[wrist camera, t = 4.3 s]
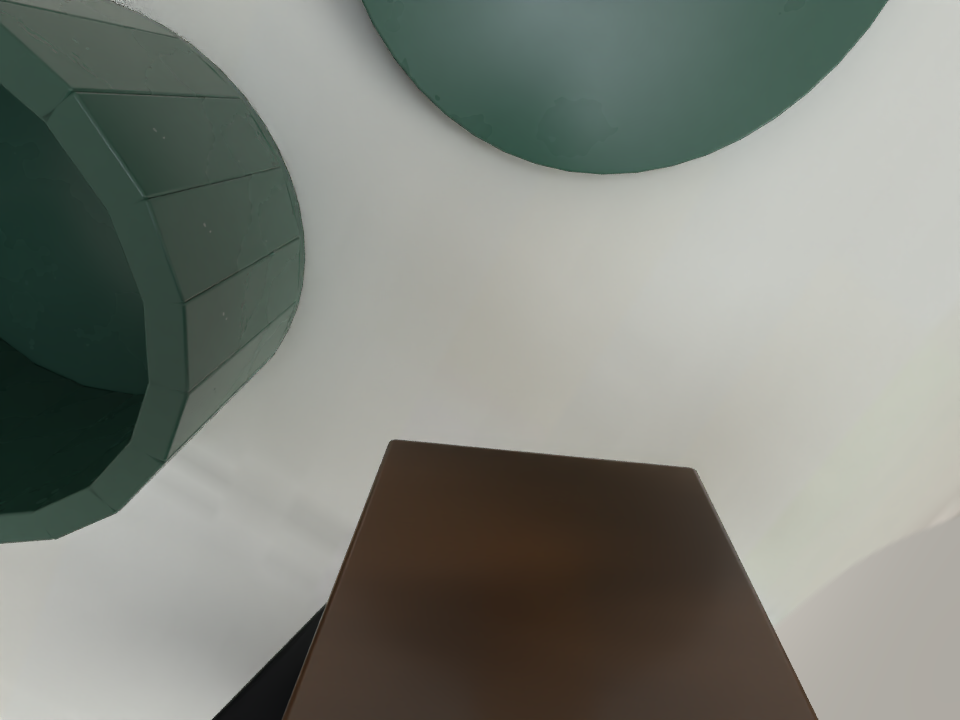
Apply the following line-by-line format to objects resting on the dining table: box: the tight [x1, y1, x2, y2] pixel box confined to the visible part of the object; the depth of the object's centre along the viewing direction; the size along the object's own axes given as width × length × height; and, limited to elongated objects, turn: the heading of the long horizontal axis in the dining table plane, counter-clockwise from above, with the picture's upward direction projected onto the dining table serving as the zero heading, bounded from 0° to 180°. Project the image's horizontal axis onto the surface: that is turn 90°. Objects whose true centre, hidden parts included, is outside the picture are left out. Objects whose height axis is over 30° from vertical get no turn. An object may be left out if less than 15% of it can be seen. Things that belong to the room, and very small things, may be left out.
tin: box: [0, 0, 305, 544], centre depth 14 cm, size 12×12×6 cm
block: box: [282, 439, 818, 720], centre depth 7 cm, size 4×4×4 cm
